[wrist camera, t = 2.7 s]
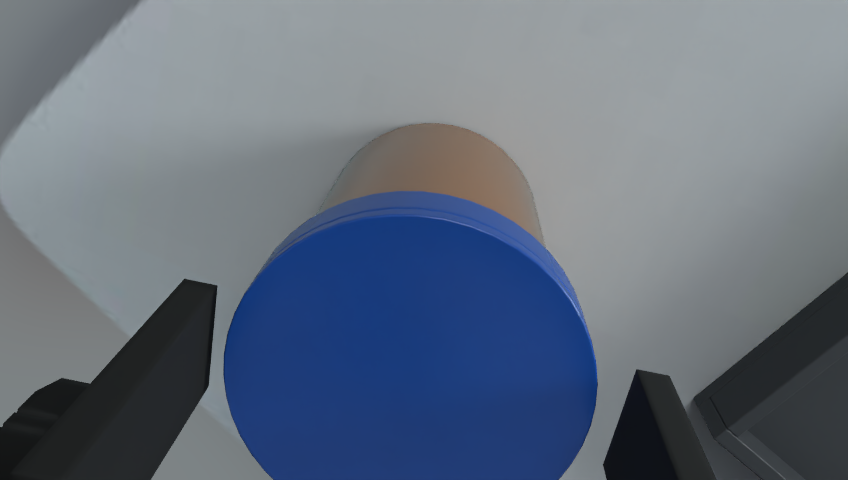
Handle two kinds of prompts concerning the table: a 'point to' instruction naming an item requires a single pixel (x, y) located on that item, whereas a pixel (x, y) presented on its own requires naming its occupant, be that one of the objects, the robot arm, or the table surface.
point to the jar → (439, 171)
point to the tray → (789, 397)
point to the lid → (411, 348)
